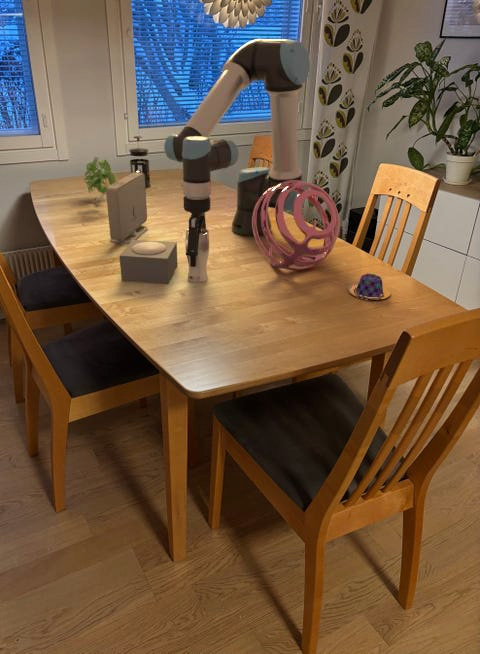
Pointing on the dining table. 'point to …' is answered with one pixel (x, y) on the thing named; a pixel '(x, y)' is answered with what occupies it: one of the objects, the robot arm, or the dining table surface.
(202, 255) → the beer glass
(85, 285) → the dining table surface
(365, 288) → the sun hat
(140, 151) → the french press
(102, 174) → the plant cuttings
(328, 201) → the spiral basket
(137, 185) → the network device
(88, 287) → the dining table surface
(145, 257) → the plate
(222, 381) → the dining table surface
